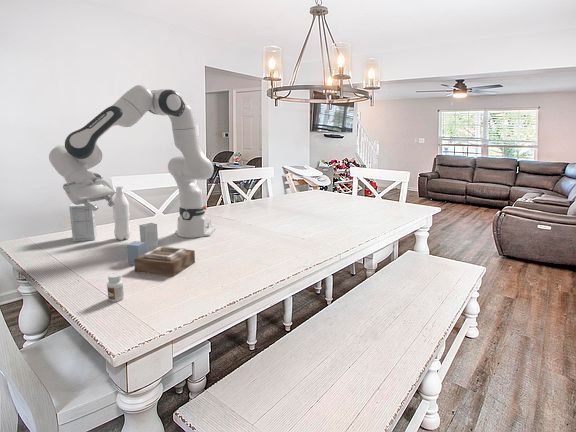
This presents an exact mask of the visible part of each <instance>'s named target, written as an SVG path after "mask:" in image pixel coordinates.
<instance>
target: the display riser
mask: <svg viewBox="0 0 576 432" xmlns="http://www.w3.org/2000/svg"><path fill="white" fill-rule="evenodd" d="M195 255H196V253H195V250H193V249H192V250H191V249H186V248H181V247H173V246H166V245H165V246H164V245H163V246H162V245H160V246H158V247H157V248H155V249H153V250H151V251H149V252H147V253H145V254H143V255H141V256H139V257H137V258H135V259H134V264H133V265H134V272H135V273H142V274H143V273H144V274H151V275H157V276H169V277H175V276H178V274H180V273H181V272H183V271H184V270H186V269H187V268H189V267H190V266H191V265H194V264H195V263H196V260H195V259H196V257H195Z"/></svg>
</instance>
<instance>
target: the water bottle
mask: <svg viewBox="0 0 576 432" xmlns="http://www.w3.org/2000/svg"><path fill="white" fill-rule="evenodd" d="M112 201H113V202H114V203H115V205H114V206H112V214H113V215H112V217H113V221H114V231H113V233H114V237H115V238H116V240H119V241H123V240H124V239H125V240H129V239H130V236H131V234H132V232H131V231H132V230H131V227H130V216H131V214H130V202H129V201H128V199H127V197H126V196H125V193H124V187H123V186H116V187H115V196H114V198H113V199H112Z"/></svg>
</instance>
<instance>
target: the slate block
mask: <svg viewBox="0 0 576 432" xmlns="http://www.w3.org/2000/svg"><path fill="white" fill-rule="evenodd" d="M145 253H146V242H141V241H136V240H134V241H132V242H130V243H127V244H126V256H127V264H133V265H134V259H135V258H137V257H139V256H141V255H143V254H145Z"/></svg>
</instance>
